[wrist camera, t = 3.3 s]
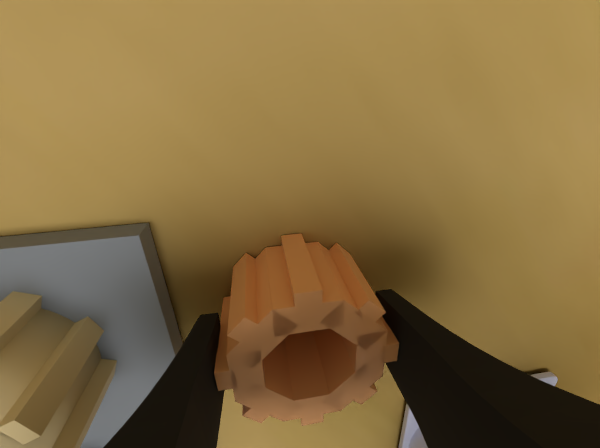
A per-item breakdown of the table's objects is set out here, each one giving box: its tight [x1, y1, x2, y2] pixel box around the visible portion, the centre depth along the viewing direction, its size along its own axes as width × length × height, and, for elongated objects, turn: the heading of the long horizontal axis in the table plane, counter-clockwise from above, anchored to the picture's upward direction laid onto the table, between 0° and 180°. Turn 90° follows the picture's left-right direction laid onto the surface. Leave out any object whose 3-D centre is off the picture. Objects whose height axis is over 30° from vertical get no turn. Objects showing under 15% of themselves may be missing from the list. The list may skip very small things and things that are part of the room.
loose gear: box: [214, 233, 399, 426], centre depth 11 cm, size 6×6×4 cm
